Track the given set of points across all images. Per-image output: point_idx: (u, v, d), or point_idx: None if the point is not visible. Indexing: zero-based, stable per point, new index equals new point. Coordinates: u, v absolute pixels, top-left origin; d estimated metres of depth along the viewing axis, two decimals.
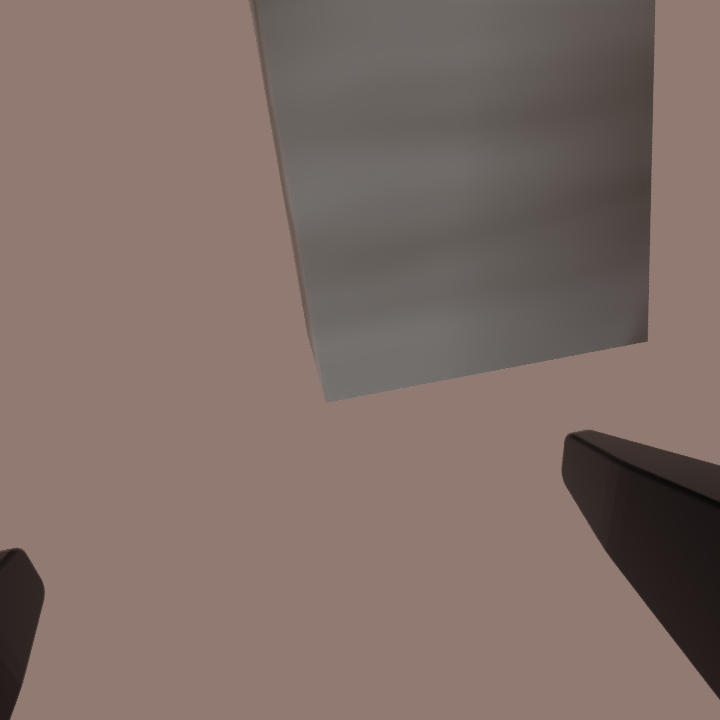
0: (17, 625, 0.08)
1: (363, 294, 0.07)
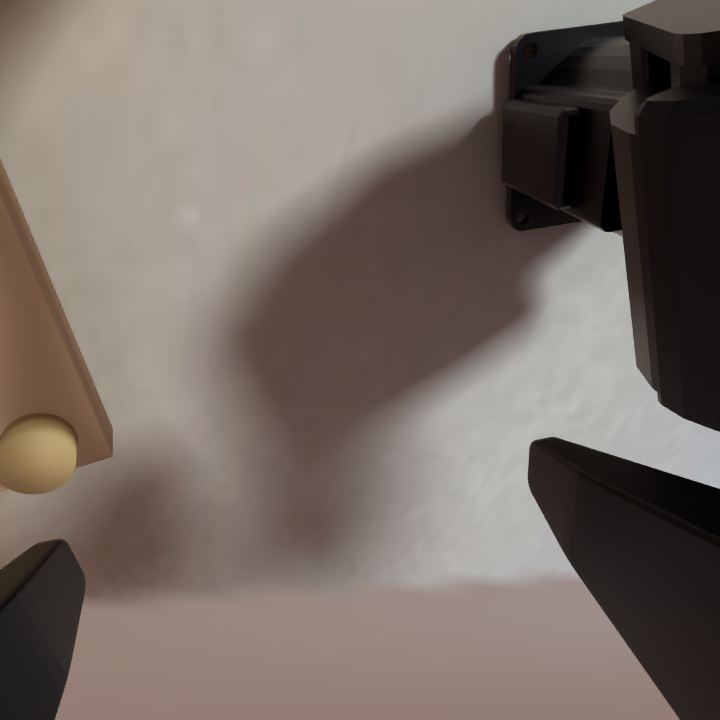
0: (63, 615, 0.08)
1: None
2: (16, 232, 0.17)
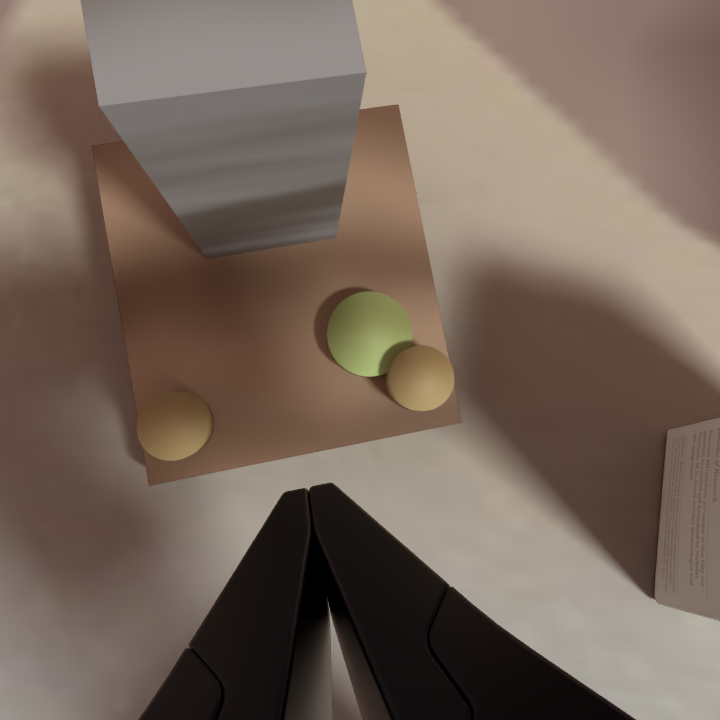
0: None
1: (325, 116, 0.12)
2: (380, 438, 0.21)
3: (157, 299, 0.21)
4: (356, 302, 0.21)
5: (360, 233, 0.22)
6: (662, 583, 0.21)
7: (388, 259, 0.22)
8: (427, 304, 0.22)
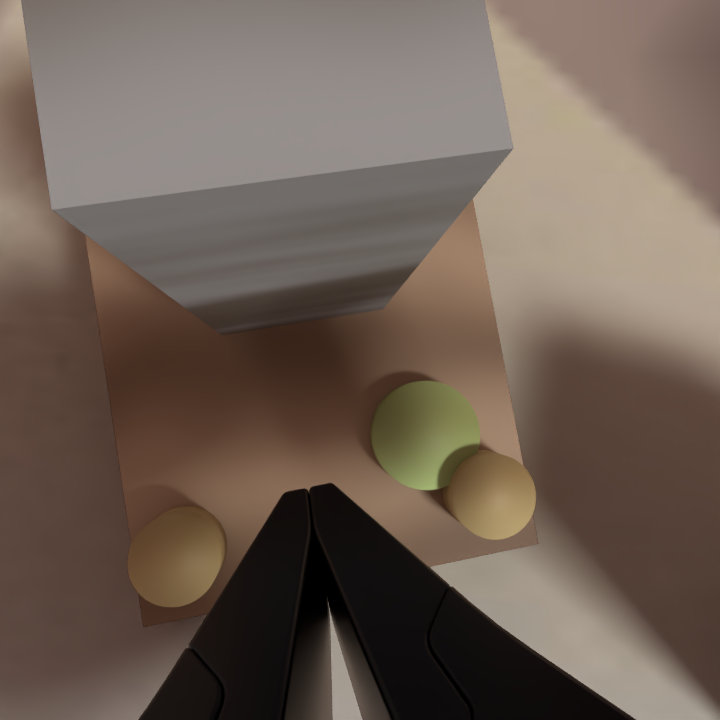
0: None
1: (422, 204, 0.08)
2: (436, 564, 0.17)
3: (158, 387, 0.16)
4: (410, 394, 0.16)
5: (413, 303, 0.17)
6: None
7: (448, 336, 0.17)
8: (496, 393, 0.17)
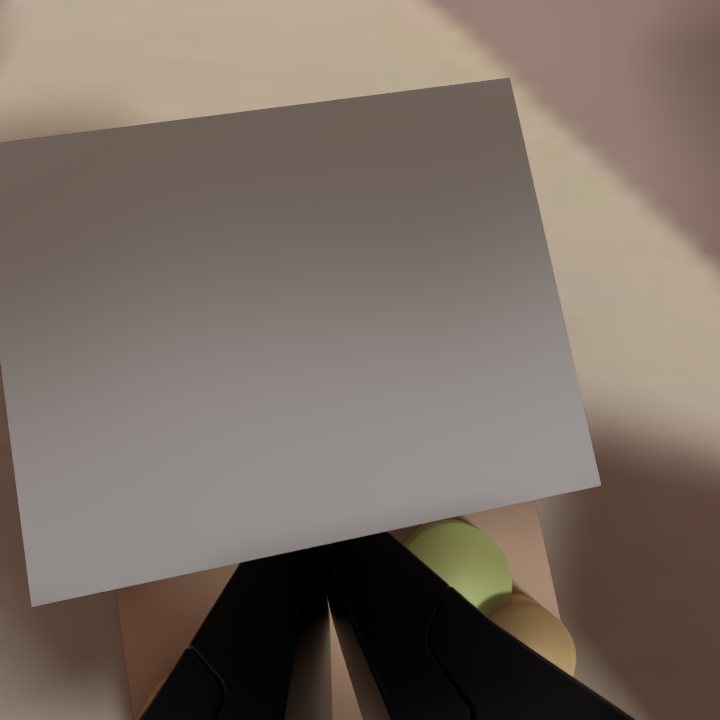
0: None
1: None
2: None
3: None
4: (435, 540, 0.15)
5: None
6: None
7: None
8: (527, 529, 0.16)
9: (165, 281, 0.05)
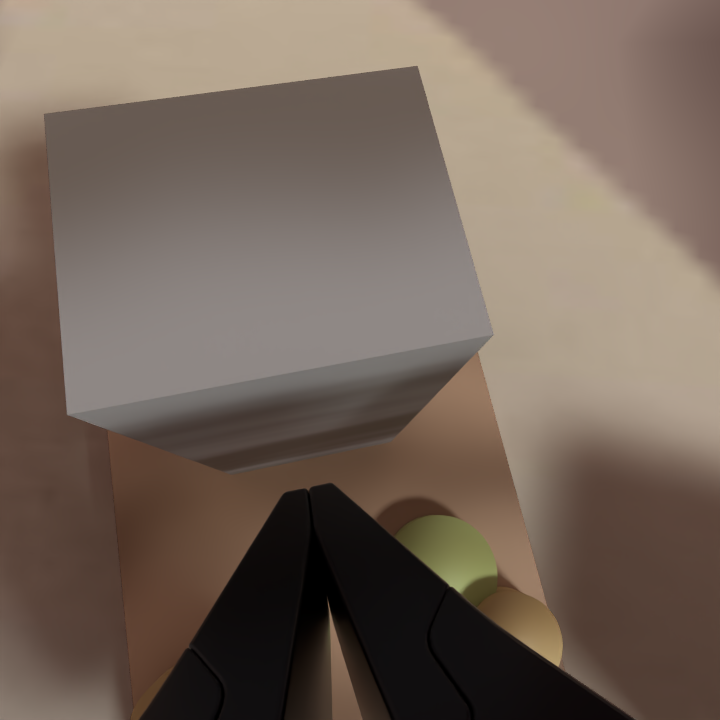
0: None
1: (414, 375, 0.08)
2: None
3: (167, 531, 0.16)
4: (421, 530, 0.16)
5: (420, 434, 0.17)
6: None
7: (457, 466, 0.17)
8: (510, 524, 0.17)
9: (171, 196, 0.07)
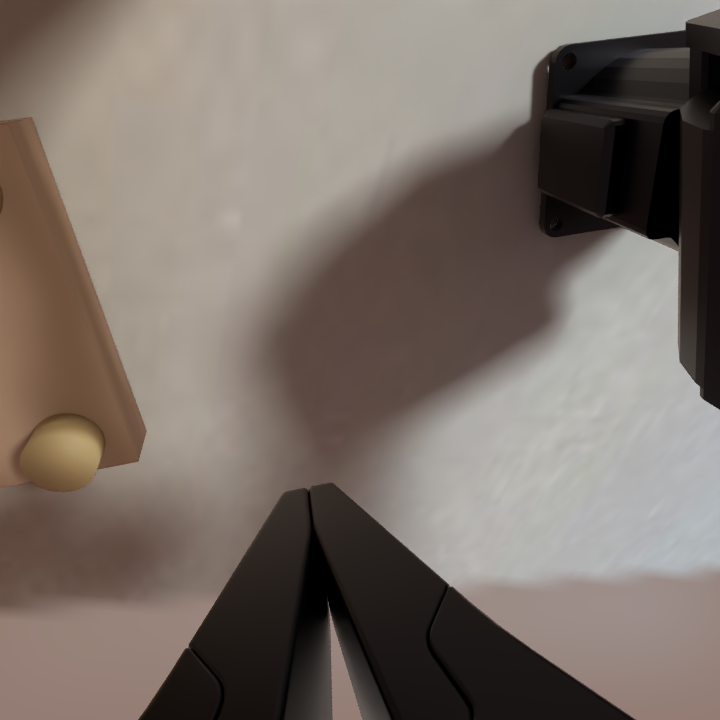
0: None
1: None
2: (52, 239, 0.17)
3: None
4: None
5: None
6: None
7: None
8: None
9: None
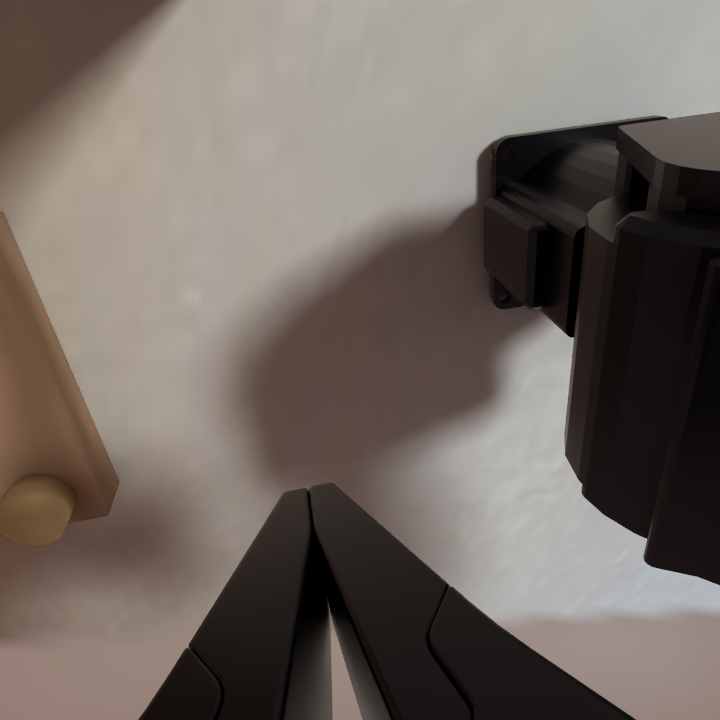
0: None
1: None
2: (20, 324, 0.18)
3: None
4: None
5: None
6: None
7: None
8: None
9: None
